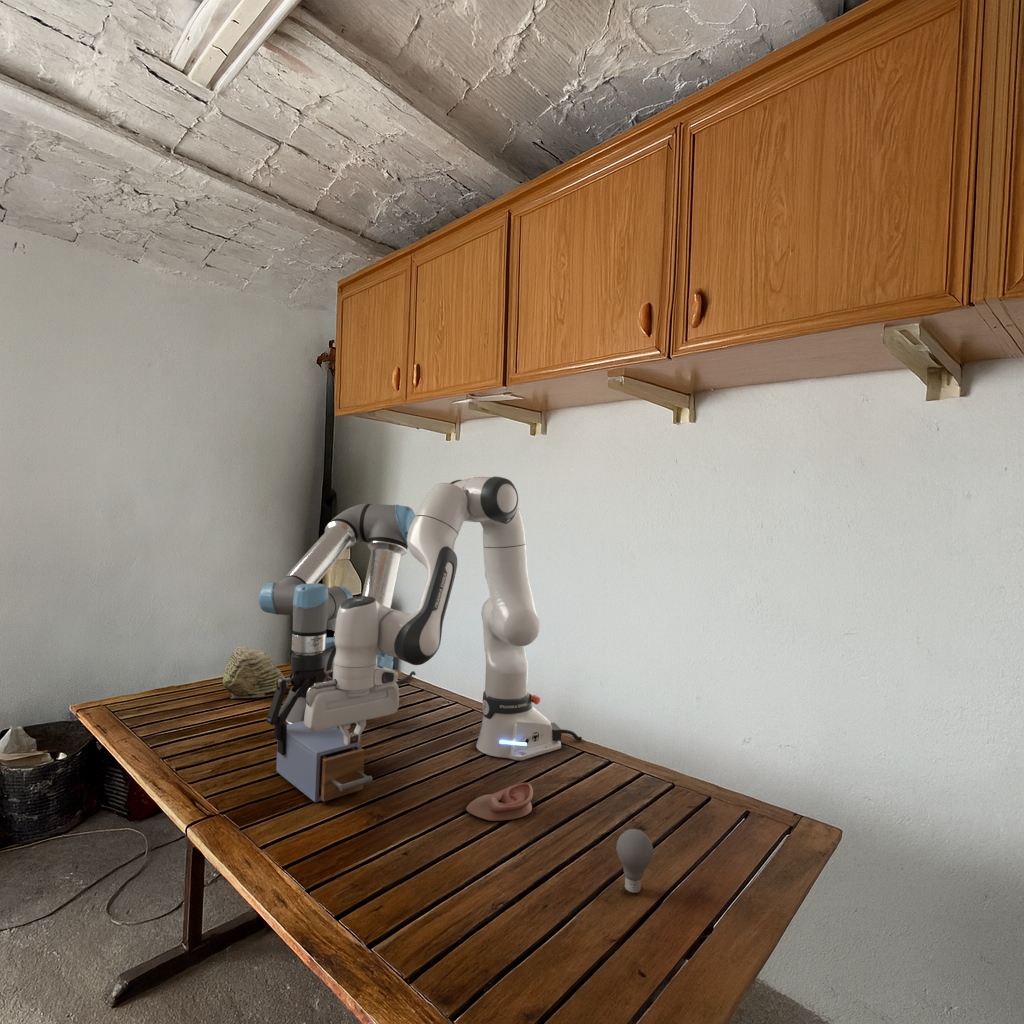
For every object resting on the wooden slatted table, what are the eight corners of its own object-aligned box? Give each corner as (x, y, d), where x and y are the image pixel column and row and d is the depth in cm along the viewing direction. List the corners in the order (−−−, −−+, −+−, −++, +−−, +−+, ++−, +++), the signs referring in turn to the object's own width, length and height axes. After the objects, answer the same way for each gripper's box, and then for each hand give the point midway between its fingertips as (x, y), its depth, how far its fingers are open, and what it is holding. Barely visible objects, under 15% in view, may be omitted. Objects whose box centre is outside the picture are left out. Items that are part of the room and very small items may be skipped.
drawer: (376, 798, 132) (377, 757, 132) (336, 811, 126) (338, 769, 126) (323, 761, 149) (325, 726, 149) (286, 772, 143) (287, 734, 142)
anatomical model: (462, 797, 127) (476, 773, 139) (461, 816, 128) (476, 791, 139) (527, 806, 125) (536, 781, 136) (526, 826, 125) (535, 800, 136)
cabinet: (359, 788, 138) (361, 741, 138) (314, 802, 131) (316, 752, 131) (318, 759, 152) (319, 717, 152) (276, 771, 145) (277, 726, 145)
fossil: (218, 695, 195) (220, 647, 195) (278, 685, 208) (279, 640, 207) (228, 703, 189) (230, 653, 188) (289, 692, 201) (290, 645, 201)
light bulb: (610, 879, 108) (613, 822, 108) (644, 879, 109) (647, 822, 109) (619, 902, 102) (622, 840, 102) (655, 901, 103) (658, 840, 103)
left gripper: (266, 662, 135) (262, 765, 135) (361, 648, 151) (357, 740, 151) (252, 654, 140) (248, 754, 141) (345, 642, 156) (341, 731, 157)
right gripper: (314, 688, 121) (311, 760, 121) (404, 672, 135) (401, 736, 135) (299, 680, 126) (296, 749, 126) (388, 665, 140) (385, 728, 140)
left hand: (304, 747), depth 146 cm, fingers closed on cabinet, 10 cm apart
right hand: (351, 742), depth 131 cm, fingers closed
